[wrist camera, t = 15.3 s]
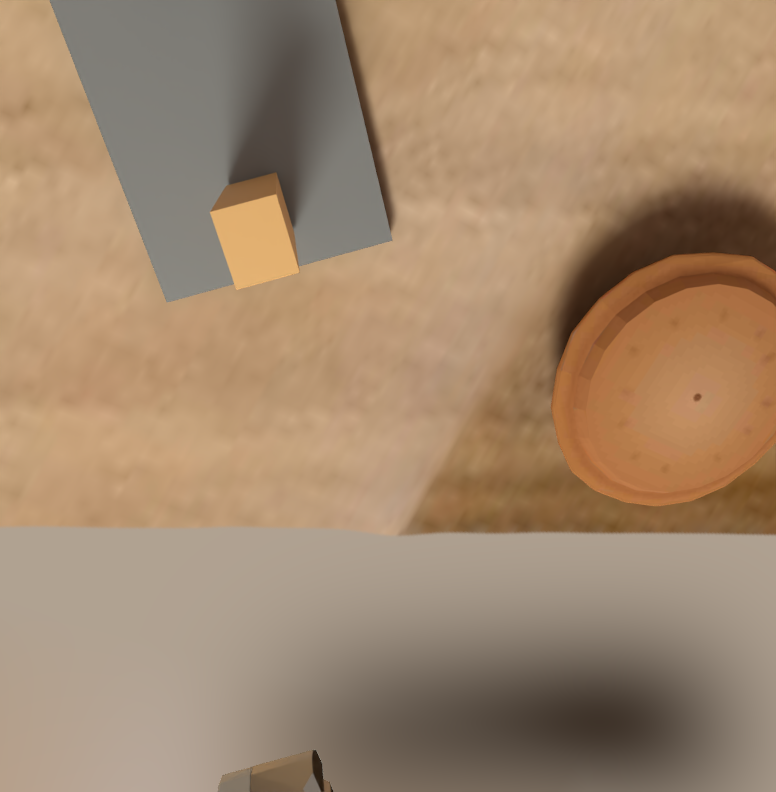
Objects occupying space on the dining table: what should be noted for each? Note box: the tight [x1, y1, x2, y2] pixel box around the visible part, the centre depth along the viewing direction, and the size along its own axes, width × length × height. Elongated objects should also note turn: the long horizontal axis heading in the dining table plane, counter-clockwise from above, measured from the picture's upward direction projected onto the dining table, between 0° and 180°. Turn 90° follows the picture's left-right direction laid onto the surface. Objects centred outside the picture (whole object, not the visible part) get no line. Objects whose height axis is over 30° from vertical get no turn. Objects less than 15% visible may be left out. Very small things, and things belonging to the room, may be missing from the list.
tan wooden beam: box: [210, 172, 300, 290], centre depth 30 cm, size 2×3×9 cm
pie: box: [551, 252, 776, 506], centre depth 40 cm, size 15×16×5 cm
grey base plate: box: [50, 0, 392, 302], centre depth 28 cm, size 12×24×8 cm, turn 13°
